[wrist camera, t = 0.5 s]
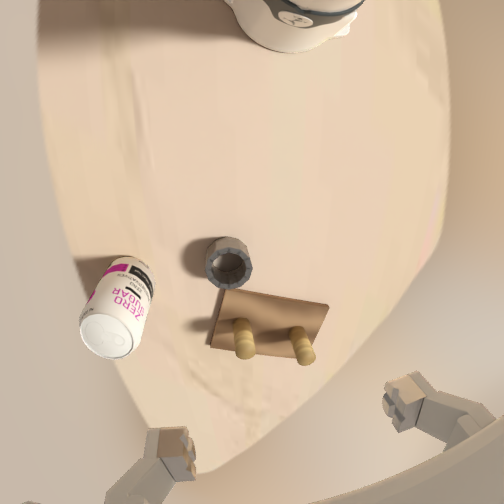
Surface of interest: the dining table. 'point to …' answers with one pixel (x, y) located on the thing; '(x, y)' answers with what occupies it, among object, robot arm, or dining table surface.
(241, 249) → the ring
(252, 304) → the post board
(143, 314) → the supplement can
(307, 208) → the dining table surface
